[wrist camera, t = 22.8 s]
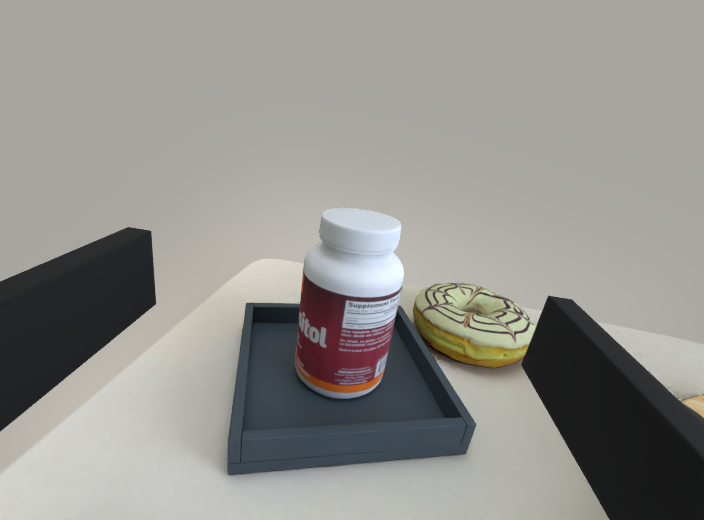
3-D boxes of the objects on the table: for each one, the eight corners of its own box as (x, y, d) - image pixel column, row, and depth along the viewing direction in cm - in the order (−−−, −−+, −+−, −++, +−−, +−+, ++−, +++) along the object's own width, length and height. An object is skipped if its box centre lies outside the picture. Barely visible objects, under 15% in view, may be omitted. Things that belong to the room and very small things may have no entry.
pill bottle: (285, 347, 26) (297, 201, 22) (362, 339, 29) (386, 205, 25) (305, 411, 21) (325, 234, 17) (398, 395, 23) (435, 236, 19)
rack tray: (227, 475, 18) (227, 441, 17) (245, 326, 30) (246, 302, 29) (466, 454, 21) (477, 424, 20) (396, 327, 33) (400, 305, 32)
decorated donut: (530, 332, 35) (543, 298, 34) (525, 396, 26) (542, 354, 25) (429, 297, 39) (436, 266, 38) (393, 343, 30) (402, 303, 29)
